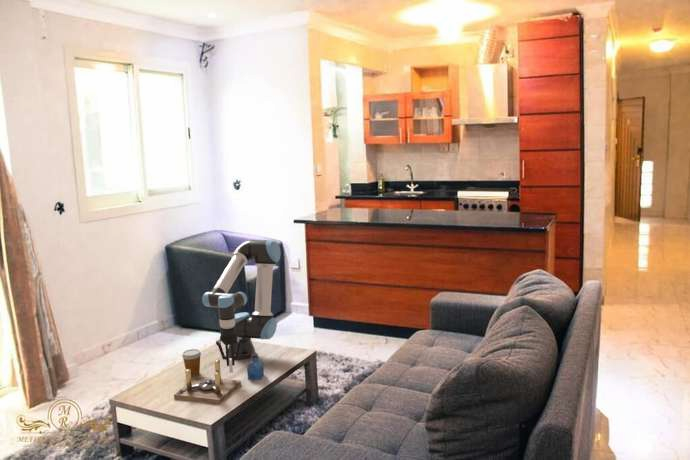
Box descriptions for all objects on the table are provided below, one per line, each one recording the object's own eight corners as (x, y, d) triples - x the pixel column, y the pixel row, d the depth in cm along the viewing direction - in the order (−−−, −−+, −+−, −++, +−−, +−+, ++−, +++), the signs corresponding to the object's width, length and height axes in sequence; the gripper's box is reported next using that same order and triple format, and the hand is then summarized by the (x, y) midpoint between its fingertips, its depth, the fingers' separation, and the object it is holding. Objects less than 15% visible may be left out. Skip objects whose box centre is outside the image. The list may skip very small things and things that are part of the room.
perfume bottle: (259, 380, 286) (258, 357, 284) (248, 379, 288) (246, 357, 286) (264, 375, 292) (262, 352, 290) (252, 374, 294) (251, 352, 292)
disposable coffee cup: (202, 369, 302) (200, 347, 300) (202, 376, 293) (200, 354, 291) (184, 371, 300) (182, 350, 298) (183, 379, 291) (181, 356, 289)
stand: (198, 379, 290) (197, 372, 289) (241, 384, 282) (240, 377, 282) (174, 398, 270) (173, 391, 269) (219, 404, 263) (218, 396, 262)
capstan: (203, 376, 288) (202, 358, 286) (235, 379, 282) (234, 361, 281) (186, 390, 273) (184, 371, 271) (219, 393, 267) (217, 374, 266)
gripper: (240, 322, 286) (244, 367, 290) (214, 325, 283) (217, 370, 287) (241, 327, 278) (244, 373, 282) (214, 330, 276) (217, 376, 280)
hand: (231, 371), depth 285 cm, fingers closed
